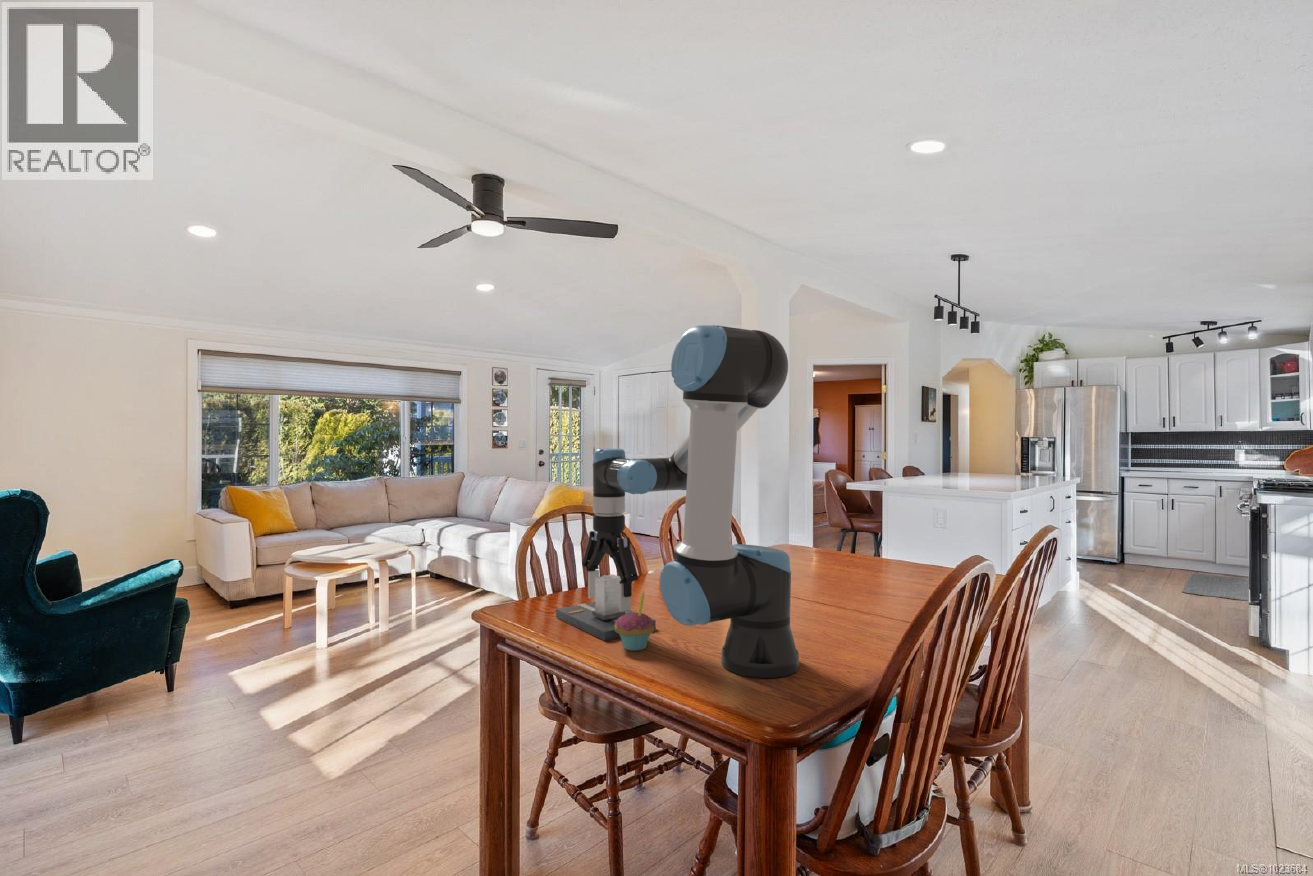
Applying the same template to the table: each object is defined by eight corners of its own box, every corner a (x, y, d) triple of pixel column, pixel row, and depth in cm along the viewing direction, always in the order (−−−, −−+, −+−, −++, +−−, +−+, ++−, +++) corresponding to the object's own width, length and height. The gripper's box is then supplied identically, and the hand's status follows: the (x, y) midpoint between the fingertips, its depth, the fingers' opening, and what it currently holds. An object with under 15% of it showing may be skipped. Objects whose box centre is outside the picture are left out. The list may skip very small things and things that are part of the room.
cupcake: (659, 642, 138) (659, 587, 138) (648, 655, 130) (648, 597, 130) (621, 639, 141) (621, 584, 141) (608, 651, 133) (608, 594, 132)
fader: (625, 615, 150) (625, 576, 150) (603, 620, 147) (603, 580, 147) (613, 610, 154) (613, 573, 154) (592, 615, 151) (592, 576, 151)
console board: (655, 629, 148) (655, 619, 148) (604, 641, 139) (604, 631, 139) (604, 607, 165) (604, 599, 165) (556, 617, 157) (556, 608, 157)
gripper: (653, 518, 143) (653, 613, 143) (594, 507, 163) (594, 590, 163) (626, 521, 138) (625, 619, 139) (568, 509, 158) (568, 595, 158)
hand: (608, 603), depth 151 cm, fingers open, 13 cm apart
